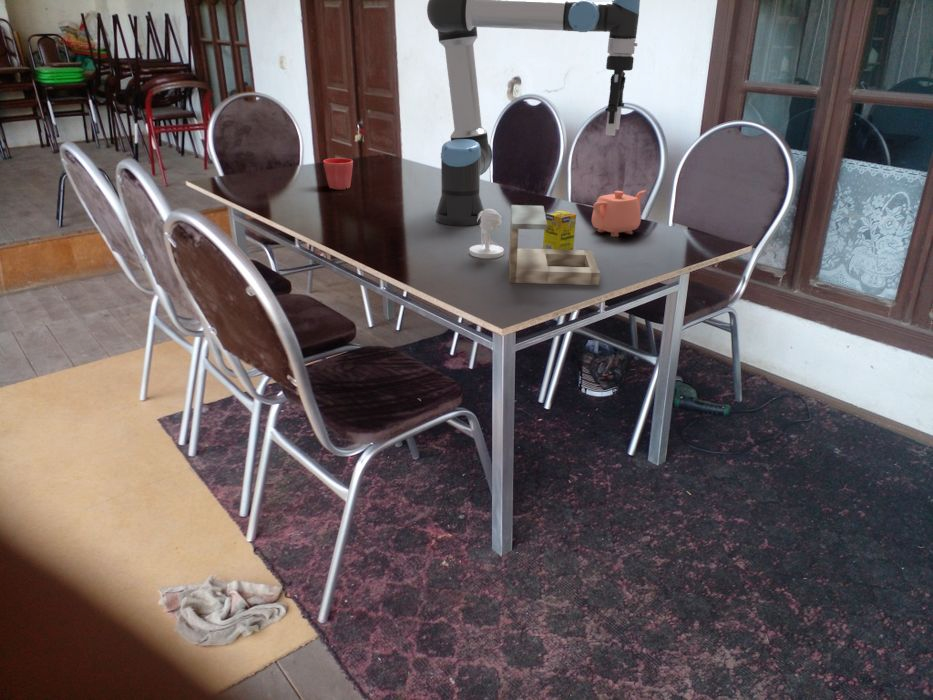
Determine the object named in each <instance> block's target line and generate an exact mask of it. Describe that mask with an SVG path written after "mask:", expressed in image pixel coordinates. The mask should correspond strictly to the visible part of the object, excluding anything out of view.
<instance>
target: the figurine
mask: <svg viewBox="0 0 933 700" xmlns="http://www.w3.org/2000/svg"><path fill="white" fill-rule="evenodd" d="M480 217H481V223H479V224H478V225H479V227H480V229H481V230H480V235H481V236H480V237H481V238H480V239H481V241H480V242H481V244H475V245H472V246H470V247H469V251H468V252H469V255H470V256H472V257H475V258H478V259H498V258H500V257H502V256H504V254H505V251H504V250H505V249H504V248H503V247H502V246H501V245H498V243H496V242H495V241H494V240H492V239H491V232H493V231H494V230H498V229H499V226H500V225H501V226H502V225H503V221H502V219H503V216H501V215H500V214H499V212H498V211H496V210H495V209H492V208H485V209H484V211H481V212H480V213H479V214H478V219H479V218H480ZM478 219H477V222H478Z"/></svg>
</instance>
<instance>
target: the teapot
mask: <svg viewBox="0 0 933 700" xmlns="http://www.w3.org/2000/svg"><path fill="white" fill-rule="evenodd" d="M646 191H647V190H646V189H644V190H640V191H638V193H637V194H636V196H632V195H629V194H625V193H624V191H622V190H615V191H614V192H613V193H609V194H604V195H600V196H599V197H598V198H597V201H596V202H594V203H593V210H592V215H591V223H592V226H593V227H594V228H596V232H597V231H598V233H605V232H606V233H607V232H608V233H610V237H612V238H617V237H619V236H620V234H619V233H625V235H626V234H627V235H633V234H634V232H633V230H634V231H635V230H636V229H638V228H639V226H640V225H641V220H642V219H641V218H642V214H641V213H642V212H641V210H642V209H641V200H642V197H643V195H644V194H645V193H646Z"/></svg>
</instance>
